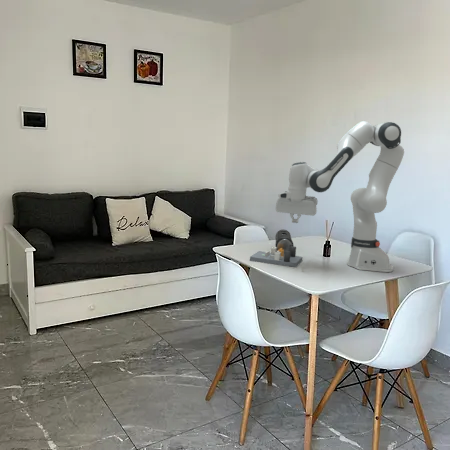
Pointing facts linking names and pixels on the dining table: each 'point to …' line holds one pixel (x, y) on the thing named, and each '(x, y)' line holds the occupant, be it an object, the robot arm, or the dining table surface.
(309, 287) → the dining table surface
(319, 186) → the robot arm
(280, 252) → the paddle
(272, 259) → the panel
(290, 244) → the muzzle brake
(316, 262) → the dining table surface
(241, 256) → the dining table surface
